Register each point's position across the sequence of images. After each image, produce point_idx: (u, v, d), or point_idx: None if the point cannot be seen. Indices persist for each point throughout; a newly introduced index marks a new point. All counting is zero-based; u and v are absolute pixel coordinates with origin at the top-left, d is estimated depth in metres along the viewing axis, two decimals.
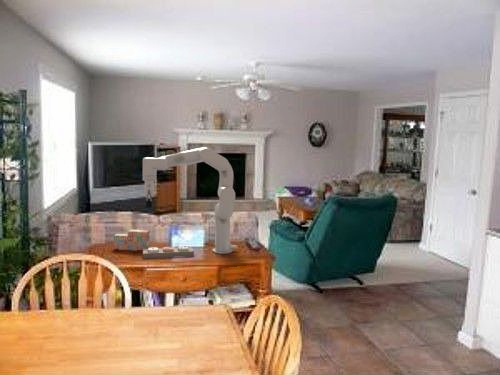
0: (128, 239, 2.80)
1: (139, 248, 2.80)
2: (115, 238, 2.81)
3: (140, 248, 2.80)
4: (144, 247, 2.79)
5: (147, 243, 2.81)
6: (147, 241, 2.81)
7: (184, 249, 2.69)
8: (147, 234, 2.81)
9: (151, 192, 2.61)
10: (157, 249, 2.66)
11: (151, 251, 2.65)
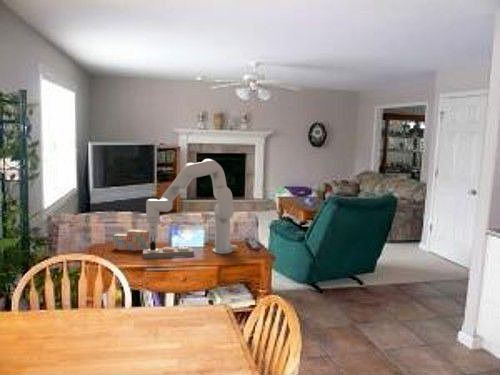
0: (127, 239, 2.80)
1: (138, 248, 2.80)
2: (114, 238, 2.81)
3: (139, 248, 2.80)
4: (143, 247, 2.79)
5: (146, 243, 2.81)
6: (146, 241, 2.81)
7: (184, 249, 2.69)
8: (146, 234, 2.81)
9: (155, 234, 2.62)
10: (157, 250, 2.66)
11: None
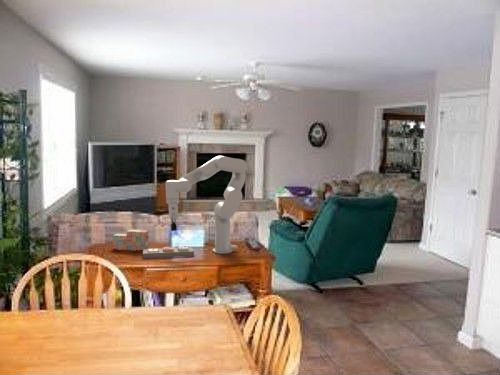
0: (127, 239, 2.80)
1: (138, 248, 2.80)
2: (114, 238, 2.81)
3: (139, 248, 2.80)
4: (143, 247, 2.79)
5: (146, 243, 2.81)
6: (146, 241, 2.81)
7: (184, 249, 2.69)
8: (146, 234, 2.81)
9: (176, 215, 2.64)
10: (157, 250, 2.66)
11: None
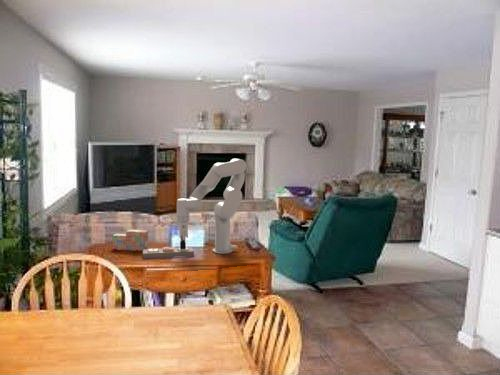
0: (126, 239, 2.80)
1: (137, 248, 2.80)
2: (113, 238, 2.81)
3: (138, 248, 2.80)
4: (142, 247, 2.79)
5: (146, 243, 2.81)
6: (146, 241, 2.81)
7: (184, 250, 2.69)
8: (146, 234, 2.81)
9: (185, 233, 2.66)
10: (157, 250, 2.66)
11: None
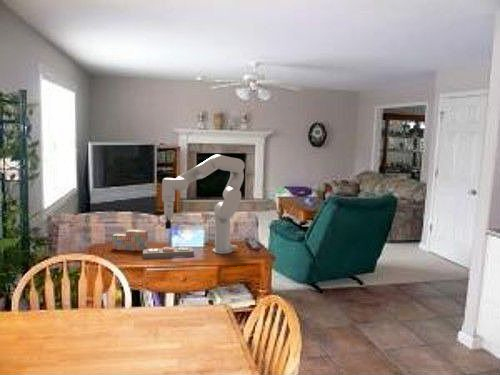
0: (126, 239, 2.80)
1: (137, 248, 2.80)
2: (113, 238, 2.81)
3: (138, 248, 2.80)
4: (142, 247, 2.79)
5: (145, 243, 2.81)
6: (145, 241, 2.81)
7: (184, 250, 2.69)
8: (145, 234, 2.81)
9: (171, 213, 2.63)
10: (157, 250, 2.66)
11: None
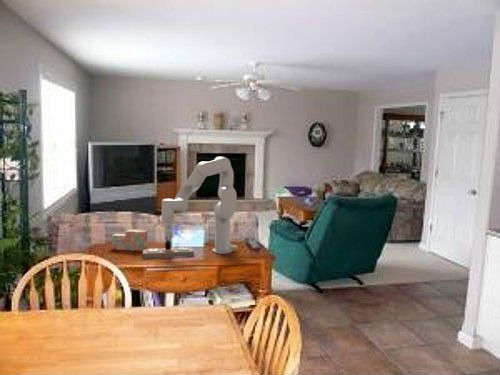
0: (125, 239, 2.80)
1: (137, 248, 2.80)
2: (112, 238, 2.81)
3: (138, 248, 2.80)
4: (142, 247, 2.79)
5: (145, 243, 2.81)
6: (145, 241, 2.81)
7: (184, 250, 2.69)
8: (145, 234, 2.81)
9: (170, 234, 2.64)
10: (157, 250, 2.66)
11: None
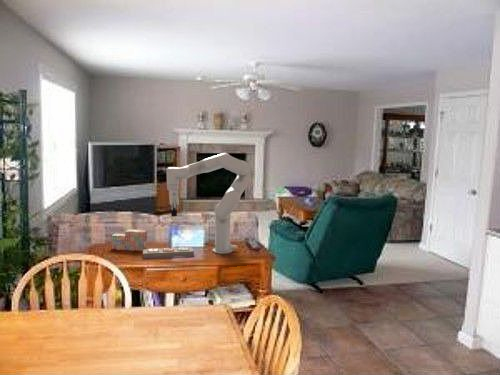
0: (125, 239, 2.80)
1: (136, 248, 2.80)
2: (112, 238, 2.81)
3: (137, 248, 2.80)
4: (141, 247, 2.79)
5: (144, 243, 2.81)
6: (144, 241, 2.81)
7: (184, 250, 2.69)
8: (144, 234, 2.81)
9: (176, 200, 2.72)
10: (157, 250, 2.66)
11: None
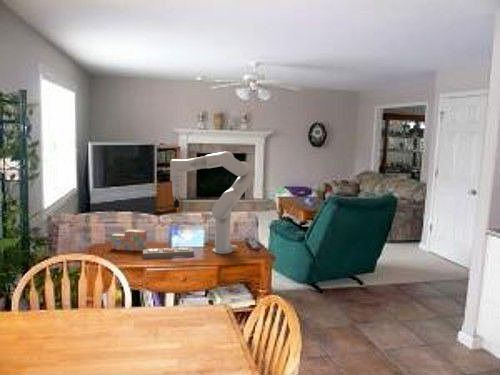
0: (125, 239, 2.80)
1: (136, 248, 2.80)
2: (112, 238, 2.81)
3: (137, 248, 2.80)
4: (141, 247, 2.79)
5: (144, 243, 2.81)
6: (144, 241, 2.81)
7: (184, 250, 2.69)
8: (144, 234, 2.81)
9: (179, 192, 2.77)
10: (157, 250, 2.66)
11: None
